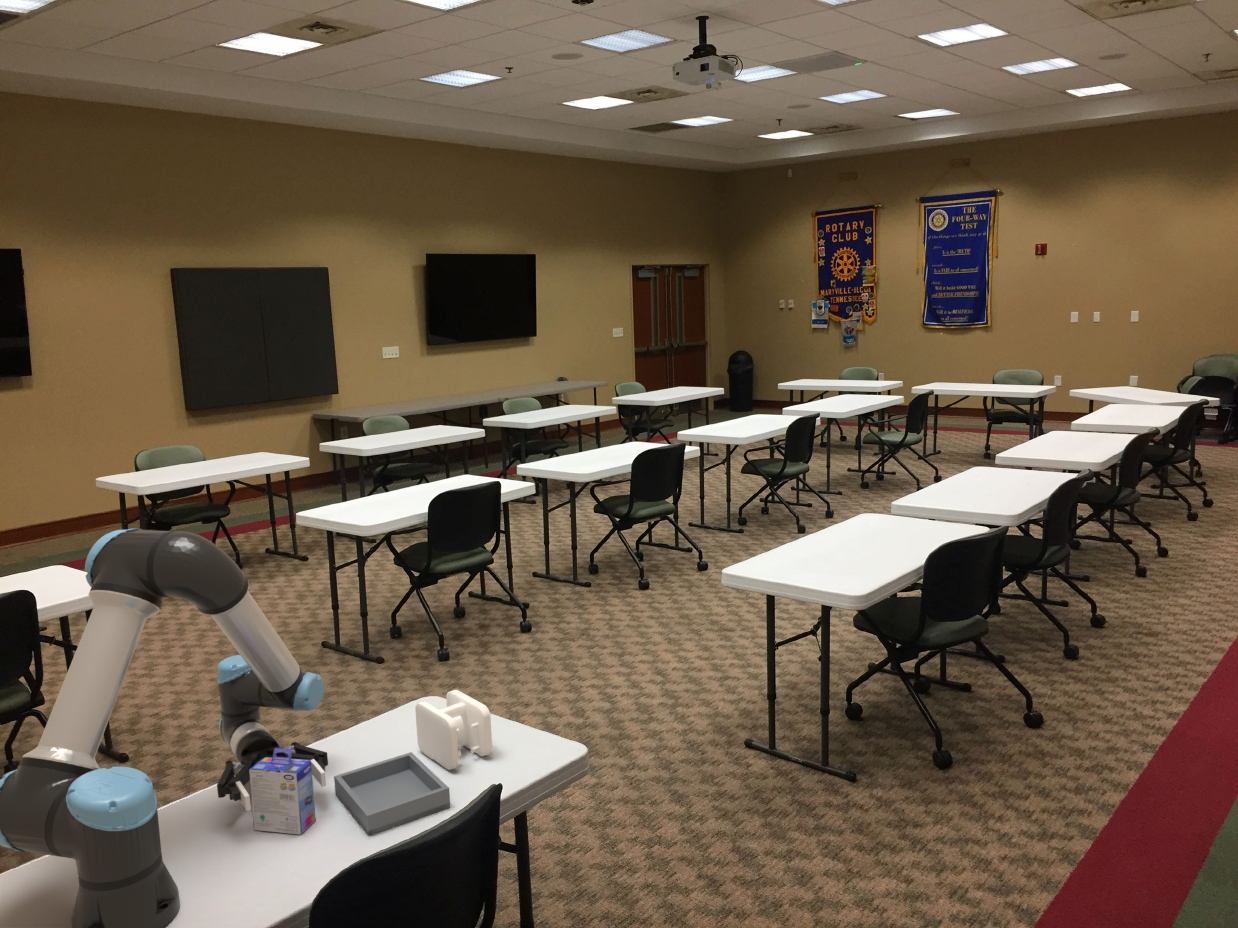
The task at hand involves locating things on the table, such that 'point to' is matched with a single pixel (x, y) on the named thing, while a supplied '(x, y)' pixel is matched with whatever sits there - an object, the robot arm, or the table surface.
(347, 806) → the tray
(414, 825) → the table surface
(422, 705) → the cable organizer
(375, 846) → the table surface
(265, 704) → the robot arm
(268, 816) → the ink cartridge box
